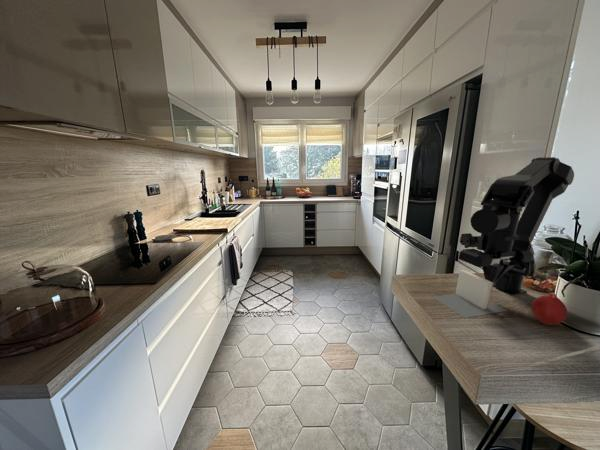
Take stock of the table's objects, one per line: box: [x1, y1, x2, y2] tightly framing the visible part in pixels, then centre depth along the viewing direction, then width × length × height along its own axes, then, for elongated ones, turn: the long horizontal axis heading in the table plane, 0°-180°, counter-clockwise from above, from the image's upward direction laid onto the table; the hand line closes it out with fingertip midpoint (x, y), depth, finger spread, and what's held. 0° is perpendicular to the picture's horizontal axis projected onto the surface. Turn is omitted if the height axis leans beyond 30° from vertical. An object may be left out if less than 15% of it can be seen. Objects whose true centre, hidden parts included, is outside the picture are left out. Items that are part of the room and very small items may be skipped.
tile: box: [454, 269, 494, 309], centre depth 66 cm, size 2×8×7 cm, turn 17°
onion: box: [530, 292, 568, 326], centre depth 57 cm, size 6×6×8 cm
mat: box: [431, 293, 509, 319], centre depth 65 cm, size 14×10×1 cm
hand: (488, 285), depth 68 cm, fingers closed
